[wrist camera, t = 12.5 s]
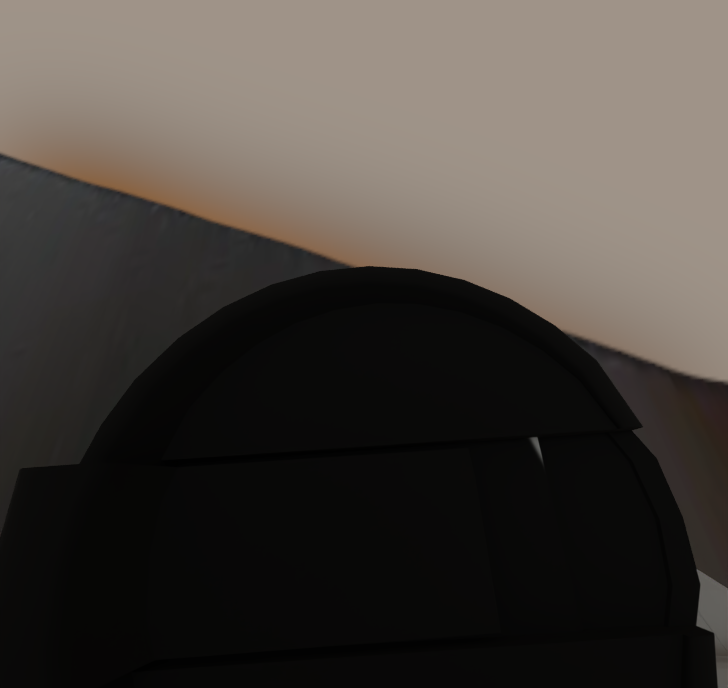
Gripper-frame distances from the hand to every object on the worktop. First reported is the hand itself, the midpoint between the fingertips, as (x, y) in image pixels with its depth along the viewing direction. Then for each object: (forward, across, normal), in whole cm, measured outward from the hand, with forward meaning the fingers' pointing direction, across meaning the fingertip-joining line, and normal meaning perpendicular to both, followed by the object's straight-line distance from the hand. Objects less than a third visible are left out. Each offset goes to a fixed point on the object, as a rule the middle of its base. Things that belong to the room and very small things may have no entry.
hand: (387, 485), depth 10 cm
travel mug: (+8, 0, +10) cm, 13 cm away
